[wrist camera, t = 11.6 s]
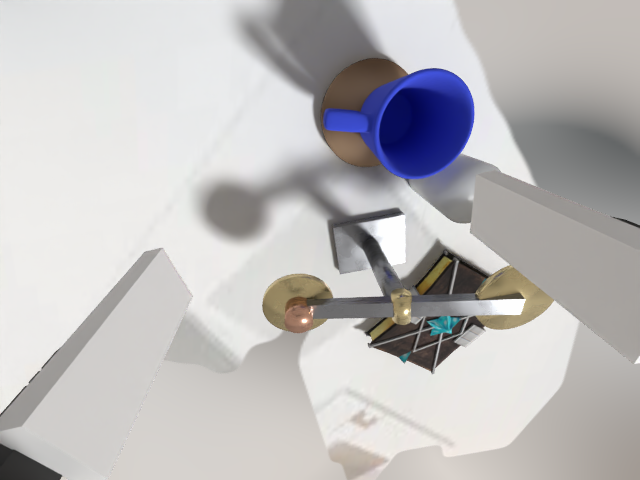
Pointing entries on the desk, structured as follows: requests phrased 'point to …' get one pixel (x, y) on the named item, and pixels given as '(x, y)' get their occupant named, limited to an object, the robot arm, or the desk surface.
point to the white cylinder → (453, 187)
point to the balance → (395, 287)
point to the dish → (356, 105)
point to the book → (433, 318)
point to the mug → (412, 122)
